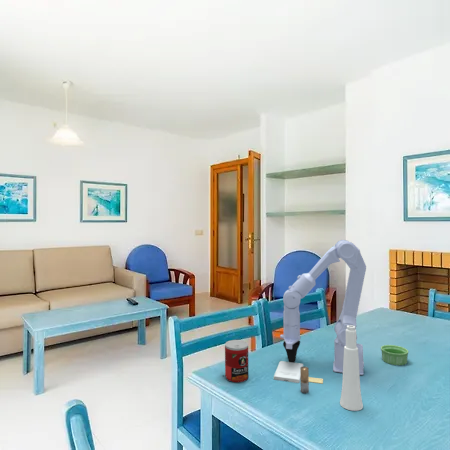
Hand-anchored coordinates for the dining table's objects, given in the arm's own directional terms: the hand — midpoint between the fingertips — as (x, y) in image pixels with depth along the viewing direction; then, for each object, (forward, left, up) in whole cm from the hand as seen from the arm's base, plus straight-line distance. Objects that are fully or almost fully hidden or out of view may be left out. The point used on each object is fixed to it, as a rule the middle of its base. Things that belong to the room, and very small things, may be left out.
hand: (291, 362), depth 122 cm
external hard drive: (0, +7, -2) cm, 7 cm away
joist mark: (-9, +10, -1) cm, 13 cm away
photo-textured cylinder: (-6, +18, -1) cm, 19 cm away
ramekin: (-35, -14, -1) cm, 38 cm away
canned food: (+16, +15, -1) cm, 22 cm away
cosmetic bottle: (-19, +22, -1) cm, 29 cm away
